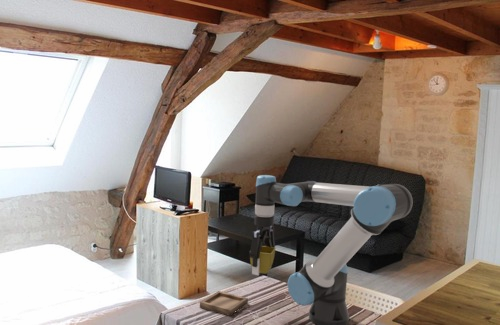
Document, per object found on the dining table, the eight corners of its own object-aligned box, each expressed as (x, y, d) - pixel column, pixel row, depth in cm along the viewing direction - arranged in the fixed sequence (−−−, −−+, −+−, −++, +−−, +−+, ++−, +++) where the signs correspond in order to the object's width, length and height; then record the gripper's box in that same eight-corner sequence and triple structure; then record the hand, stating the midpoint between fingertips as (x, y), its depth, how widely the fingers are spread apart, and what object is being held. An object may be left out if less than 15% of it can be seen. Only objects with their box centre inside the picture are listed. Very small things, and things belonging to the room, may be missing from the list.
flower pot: (270, 276, 179) (271, 253, 178) (248, 273, 181) (249, 251, 180) (274, 269, 187) (275, 247, 186) (253, 266, 189) (254, 245, 188)
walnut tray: (247, 303, 190) (247, 298, 190) (230, 315, 178) (230, 310, 178) (218, 296, 197) (218, 291, 197) (199, 307, 184) (199, 302, 184)
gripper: (268, 209, 193) (266, 261, 195) (241, 218, 174) (239, 276, 176) (285, 211, 189) (282, 265, 192) (259, 221, 170) (256, 281, 172)
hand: (261, 270), depth 184 cm, fingers closed on flower pot, 9 cm apart
